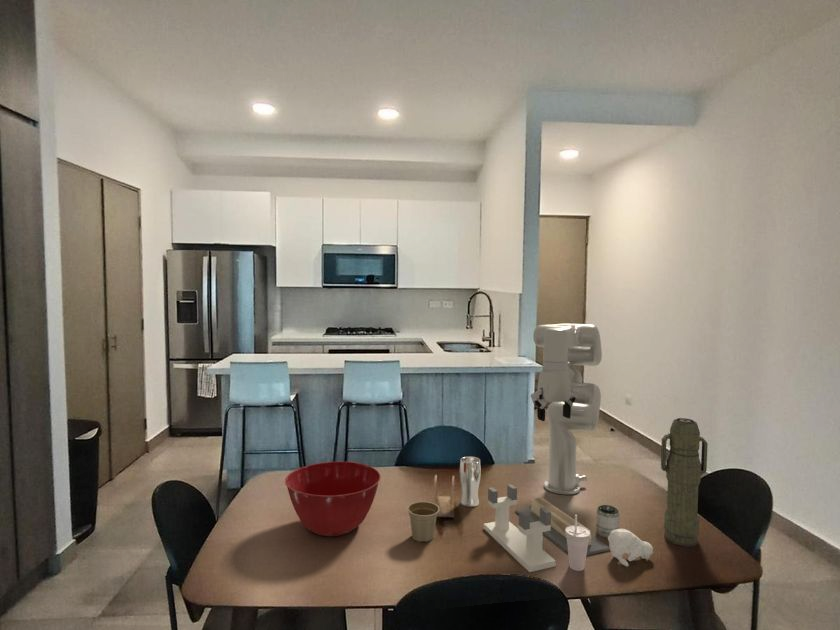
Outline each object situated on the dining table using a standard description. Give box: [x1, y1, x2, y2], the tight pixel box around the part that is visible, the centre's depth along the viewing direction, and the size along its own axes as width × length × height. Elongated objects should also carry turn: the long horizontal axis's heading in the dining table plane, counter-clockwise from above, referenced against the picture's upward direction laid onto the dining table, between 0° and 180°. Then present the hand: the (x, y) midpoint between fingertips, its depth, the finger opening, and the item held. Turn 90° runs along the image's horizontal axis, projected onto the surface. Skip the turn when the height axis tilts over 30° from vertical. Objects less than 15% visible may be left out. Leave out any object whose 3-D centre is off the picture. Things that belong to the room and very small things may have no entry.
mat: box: [515, 506, 610, 557], centre depth 154 cm, size 12×30×1 cm, turn 21°
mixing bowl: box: [284, 461, 382, 537], centre depth 156 cm, size 28×28×15 cm
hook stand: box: [483, 483, 557, 573], centre depth 144 cm, size 8×25×14 cm, turn 21°
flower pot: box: [406, 501, 440, 543], centre depth 149 cm, size 9×9×9 cm
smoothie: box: [565, 514, 592, 572], centre depth 133 cm, size 6×6×14 cm
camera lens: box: [595, 504, 620, 539], centre depth 152 cm, size 6×6×8 cm
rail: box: [530, 497, 592, 546], centre depth 154 cm, size 4×24×4 cm, turn 21°
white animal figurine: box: [607, 528, 654, 567], centre depth 137 cm, size 6×8×12 cm
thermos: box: [660, 417, 708, 547], centre depth 148 cm, size 9×12×35 cm
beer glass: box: [459, 455, 482, 508], centre depth 172 cm, size 7×7×15 cm
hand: (554, 418), depth 166 cm, fingers open, 9 cm apart
